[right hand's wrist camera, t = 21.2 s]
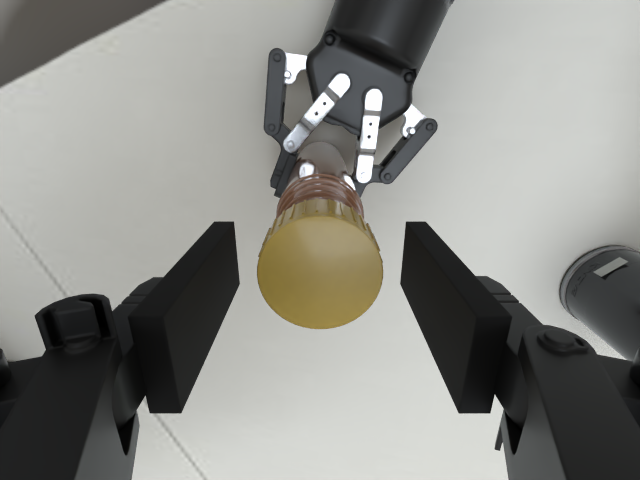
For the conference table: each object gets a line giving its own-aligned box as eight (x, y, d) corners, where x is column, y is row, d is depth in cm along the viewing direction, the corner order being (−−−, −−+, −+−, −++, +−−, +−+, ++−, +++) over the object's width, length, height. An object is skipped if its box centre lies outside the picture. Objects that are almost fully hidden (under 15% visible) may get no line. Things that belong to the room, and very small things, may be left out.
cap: (259, 291, 15) (249, 321, 13) (271, 188, 13) (262, 204, 11) (362, 305, 15) (369, 338, 13) (386, 206, 14) (398, 225, 11)
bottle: (348, 181, 35) (394, 307, 13) (304, 193, 36) (278, 333, 14) (337, 135, 34) (369, 191, 12) (291, 148, 34) (238, 225, 12)
